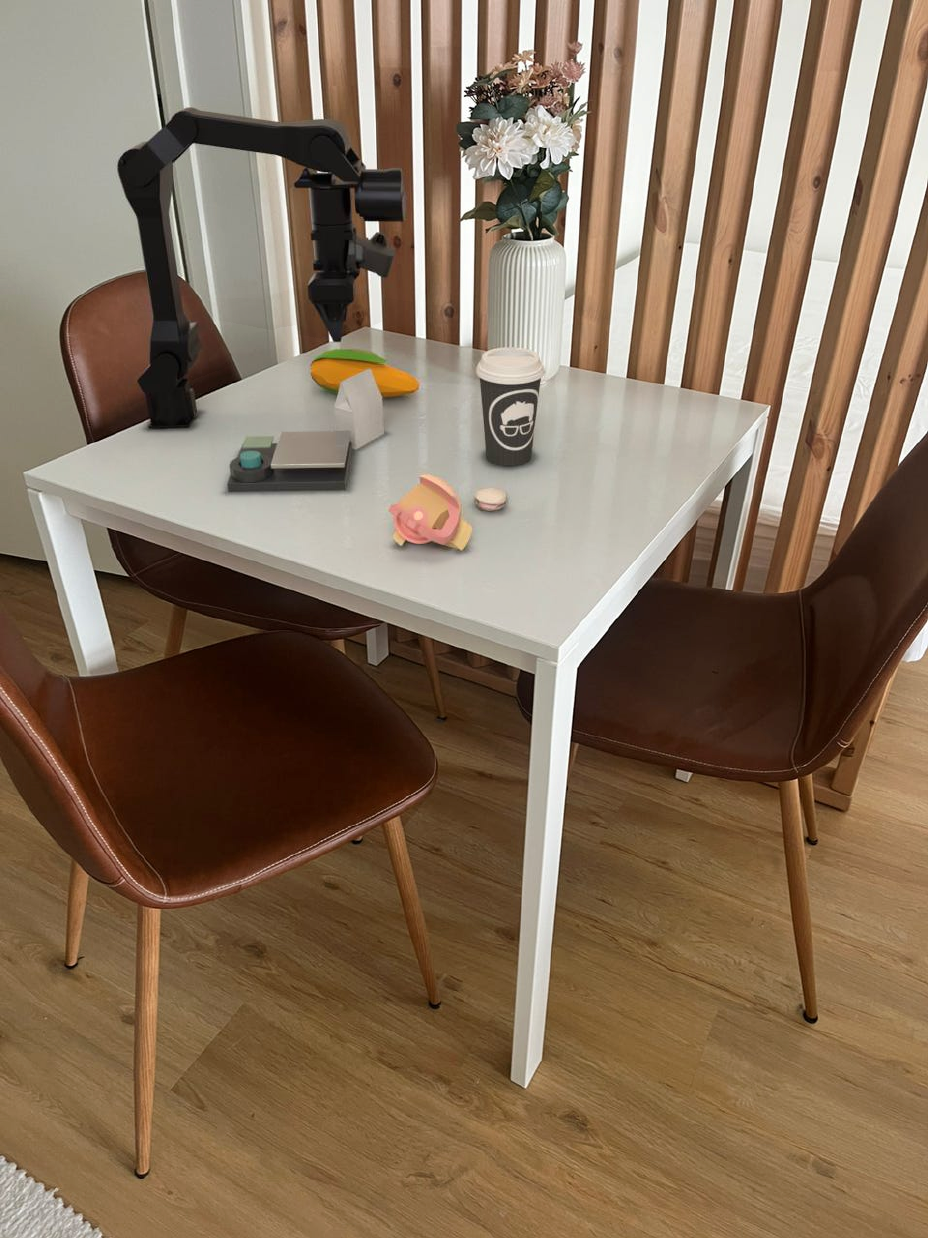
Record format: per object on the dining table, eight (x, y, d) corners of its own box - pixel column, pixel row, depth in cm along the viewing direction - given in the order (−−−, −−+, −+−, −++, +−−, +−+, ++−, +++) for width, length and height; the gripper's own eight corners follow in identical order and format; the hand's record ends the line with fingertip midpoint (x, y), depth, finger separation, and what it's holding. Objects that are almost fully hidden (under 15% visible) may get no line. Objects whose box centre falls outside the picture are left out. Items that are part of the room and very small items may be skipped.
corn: (321, 336, 167) (429, 352, 160) (326, 378, 172) (432, 396, 165) (298, 353, 162) (408, 370, 155) (304, 396, 167) (412, 415, 160)
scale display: (242, 448, 142) (241, 446, 142) (246, 437, 145) (245, 436, 145) (270, 448, 142) (270, 446, 142) (273, 437, 145) (273, 435, 145)
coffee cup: (551, 449, 148) (555, 350, 140) (526, 476, 141) (530, 373, 132) (491, 438, 151) (492, 341, 143) (465, 464, 144) (464, 363, 136)
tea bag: (384, 434, 153) (380, 370, 147) (355, 449, 148) (351, 385, 143) (365, 428, 155) (361, 366, 149) (336, 444, 150) (331, 380, 145)
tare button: (239, 469, 137) (238, 459, 136) (242, 460, 140) (241, 450, 139) (260, 469, 137) (258, 459, 136) (263, 460, 140) (261, 450, 139)
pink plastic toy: (382, 532, 129) (424, 470, 129) (446, 576, 129) (488, 514, 129) (374, 528, 120) (419, 461, 119) (443, 575, 120) (488, 509, 119)
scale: (228, 492, 137) (225, 472, 136) (243, 452, 148) (241, 433, 146) (345, 490, 138) (343, 470, 136) (352, 450, 148) (350, 431, 147)
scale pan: (270, 468, 137) (270, 464, 136) (281, 435, 146) (280, 431, 145) (344, 467, 137) (344, 463, 136) (350, 434, 146) (350, 430, 145)
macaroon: (468, 507, 133) (468, 490, 132) (491, 494, 136) (492, 477, 135) (493, 517, 131) (493, 500, 130) (517, 503, 134) (517, 486, 133)
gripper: (387, 237, 133) (392, 352, 141) (392, 205, 148) (396, 311, 157) (302, 237, 132) (312, 353, 141) (316, 205, 148) (324, 311, 157)
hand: (339, 331), depth 149 cm, fingers open, 9 cm apart
